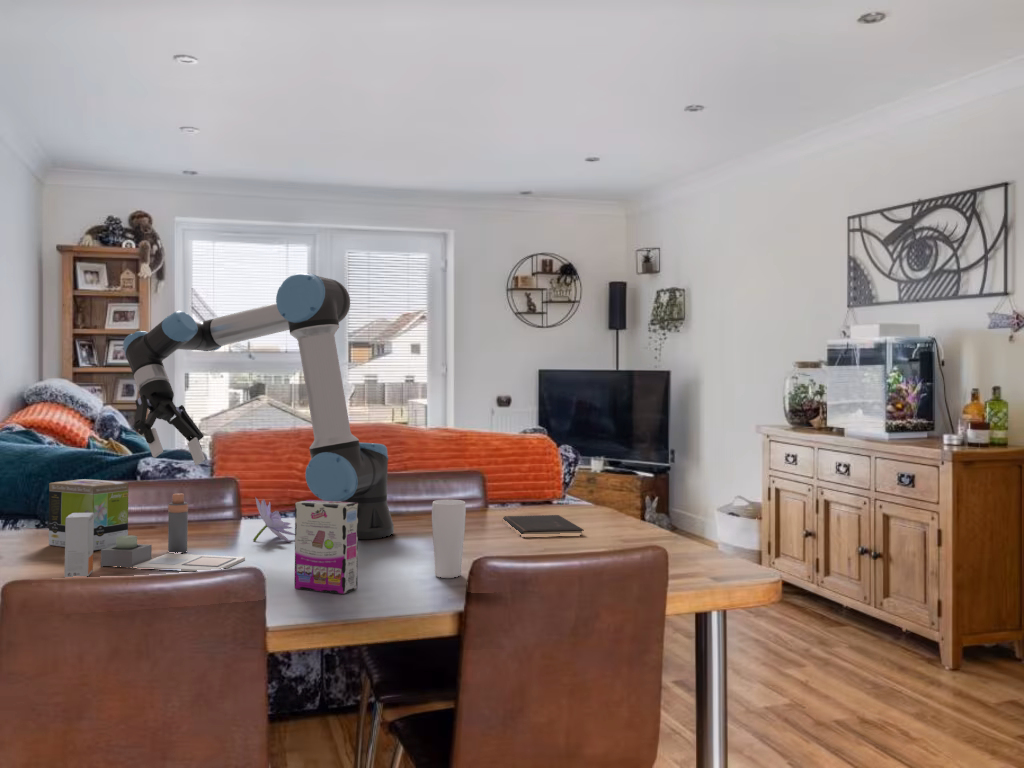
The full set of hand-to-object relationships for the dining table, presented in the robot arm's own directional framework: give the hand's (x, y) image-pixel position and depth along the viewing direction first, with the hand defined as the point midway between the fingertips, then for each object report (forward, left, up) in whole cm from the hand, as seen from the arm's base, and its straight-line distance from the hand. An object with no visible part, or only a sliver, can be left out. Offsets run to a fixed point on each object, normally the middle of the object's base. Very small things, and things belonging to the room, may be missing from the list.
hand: (179, 458), depth 205 cm
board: (-16, +23, -20) cm, 34 cm away
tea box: (+17, +9, -20) cm, 28 cm away
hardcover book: (-83, -36, -20) cm, 92 cm away
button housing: (-3, +25, -20) cm, 32 cm away
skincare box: (0, +36, -20) cm, 41 cm away
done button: (-3, +25, -16) cm, 30 cm away
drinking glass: (-71, +21, -20) cm, 77 cm away
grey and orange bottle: (-7, +12, -20) cm, 24 cm away
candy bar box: (-51, +36, -20) cm, 66 cm away
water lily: (-22, -6, -20) cm, 30 cm away
